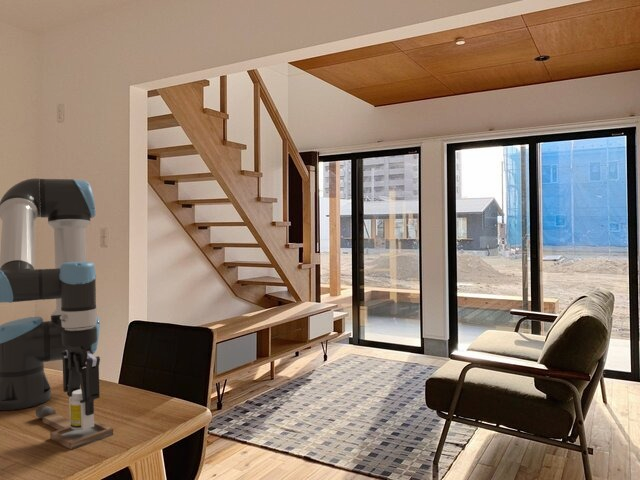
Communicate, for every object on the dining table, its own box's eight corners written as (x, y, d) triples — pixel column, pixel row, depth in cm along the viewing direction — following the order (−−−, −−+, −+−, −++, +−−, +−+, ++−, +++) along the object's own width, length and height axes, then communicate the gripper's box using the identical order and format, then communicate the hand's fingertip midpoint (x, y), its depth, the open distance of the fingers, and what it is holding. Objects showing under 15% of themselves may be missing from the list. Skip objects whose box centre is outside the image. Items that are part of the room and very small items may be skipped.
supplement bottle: (84, 431, 115) (83, 395, 115) (66, 429, 116) (65, 394, 116) (97, 423, 120) (96, 388, 120) (80, 421, 121) (79, 387, 121)
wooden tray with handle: (21, 423, 127) (21, 410, 127) (61, 411, 135) (61, 399, 135) (71, 449, 111) (71, 435, 111) (113, 434, 119) (113, 421, 119)
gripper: (45, 325, 120) (47, 421, 121) (82, 334, 109) (85, 440, 110) (76, 320, 126) (78, 412, 127) (114, 328, 115) (117, 428, 116)
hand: (81, 425), depth 118 cm, fingers closed on supplement bottle, 5 cm apart
